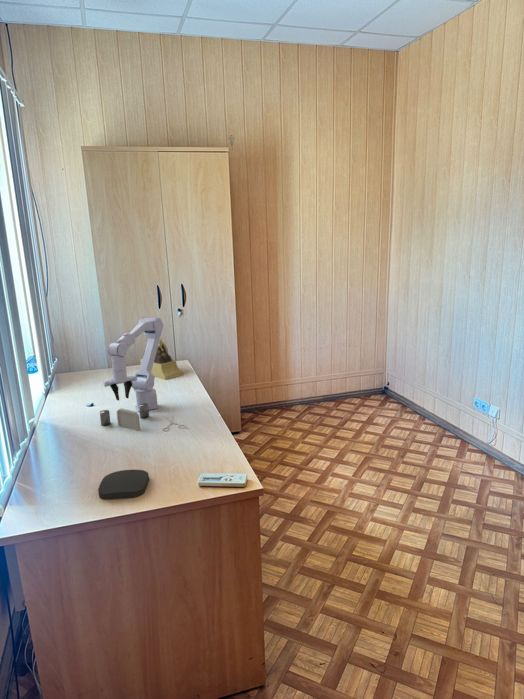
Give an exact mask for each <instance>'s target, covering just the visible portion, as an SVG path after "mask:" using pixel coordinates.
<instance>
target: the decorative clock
mask: <svg viewBox="0 0 524 699" xmlns="http://www.w3.org/2000/svg"><path fill="white" fill-rule="evenodd" d="M145 349H146V347H145ZM145 349H144V351H143V356H144V353H145ZM143 356H142V358H140V359H139V360H140V366H138V370H140V367H141V364H142V360H143ZM151 372H152V374H153V375H154V376H155V378H158V379H161V380H163V381H167V380H170V379H174V378H177V377H178V378H179V377H181V376H184V371H182V369H180V367H178V365H177V360H174V359H172V356H171V355H170V353H169V350H168V347H167V344H165V342H163V339H162V338H160V341H159V345H158V348H157V352H156V356H155V360H154V363H153V367H152V371H151Z"/></svg>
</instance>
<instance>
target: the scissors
mask: <svg viewBox="0 0 524 699" xmlns="http://www.w3.org/2000/svg"><path fill="white" fill-rule="evenodd" d="M164 418H166V420H167V421H168V422H169V424H168V425H167V426H166V427H164V428H162V432H169V431H170V430H171V428H170V426H172V425H177V427H178V428H179V429H187V430H189V429H190V428H189V427H187V425H185V424H180V423H176V422H175V420H174V418H175V416H174V414H172V417H171V419H170V418H168V416H166V415H165V416H164Z"/></svg>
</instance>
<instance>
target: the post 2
mask: <svg viewBox="0 0 524 699" xmlns="http://www.w3.org/2000/svg"><path fill="white" fill-rule="evenodd" d="M139 410H140V412H139V419H141V420H145V419H146V420H147V419H148V418H149V419H150V410H149V408H148V404H147V403H143V404H140V405H139Z"/></svg>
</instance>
